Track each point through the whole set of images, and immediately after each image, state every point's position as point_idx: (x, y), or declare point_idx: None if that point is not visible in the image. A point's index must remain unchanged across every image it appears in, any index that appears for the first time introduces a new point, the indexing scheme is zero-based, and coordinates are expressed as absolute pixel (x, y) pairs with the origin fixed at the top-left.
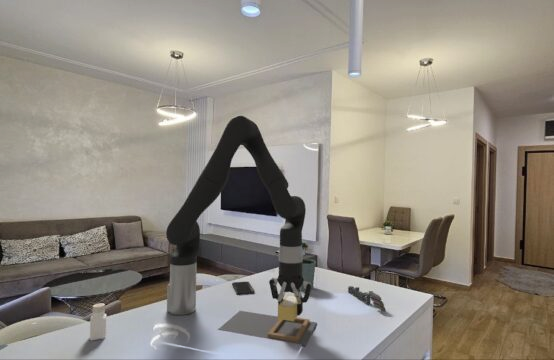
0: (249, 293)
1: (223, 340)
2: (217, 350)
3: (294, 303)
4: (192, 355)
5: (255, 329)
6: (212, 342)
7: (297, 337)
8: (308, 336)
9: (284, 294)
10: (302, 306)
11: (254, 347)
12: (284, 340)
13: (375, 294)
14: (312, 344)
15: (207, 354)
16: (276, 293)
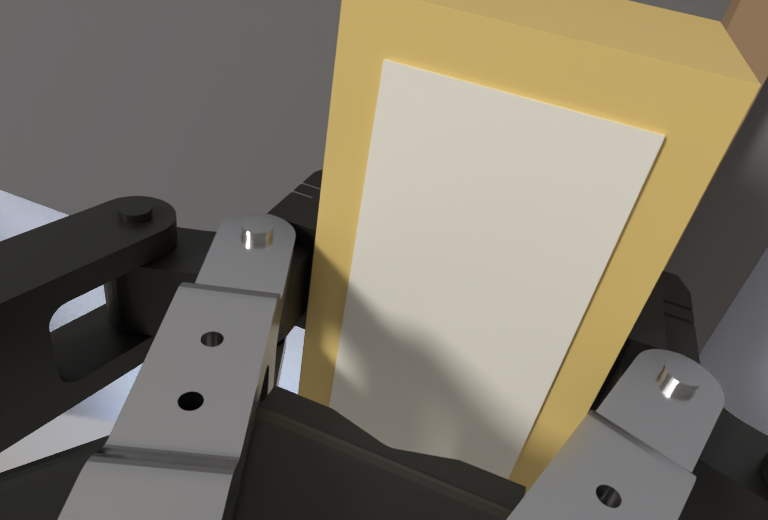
0: None
1: (98, 297)
2: (129, 389)
3: (521, 450)
4: (63, 413)
5: (212, 173)
6: (62, 315)
7: None
8: (718, 302)
9: (283, 303)
10: (689, 349)
11: (292, 383)
12: None
13: None
14: (731, 390)
15: (110, 414)
16: (128, 283)
